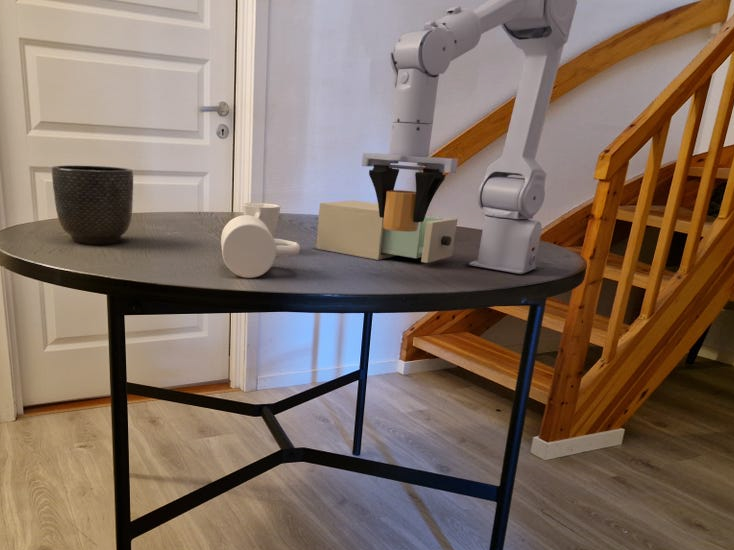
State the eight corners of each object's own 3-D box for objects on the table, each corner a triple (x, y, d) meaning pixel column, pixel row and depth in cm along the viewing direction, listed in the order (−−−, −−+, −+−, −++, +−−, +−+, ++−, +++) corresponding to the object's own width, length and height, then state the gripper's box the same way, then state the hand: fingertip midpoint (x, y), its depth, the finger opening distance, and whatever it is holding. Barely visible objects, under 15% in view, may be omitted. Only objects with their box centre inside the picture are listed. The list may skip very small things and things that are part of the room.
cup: (279, 247, 118) (282, 204, 115) (273, 256, 108) (276, 210, 105) (243, 244, 118) (245, 201, 115) (234, 253, 109) (236, 207, 106)
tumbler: (423, 229, 95) (428, 192, 93) (407, 232, 91) (412, 194, 89) (393, 225, 98) (397, 189, 96) (376, 228, 94) (380, 190, 92)
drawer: (458, 257, 113) (464, 219, 110) (433, 264, 105) (439, 223, 103) (391, 246, 120) (395, 210, 118) (364, 251, 113) (368, 214, 110)
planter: (143, 237, 120) (142, 168, 115) (121, 250, 107) (118, 172, 102) (74, 233, 121) (70, 164, 116) (43, 244, 107) (37, 167, 103)
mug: (221, 277, 91) (222, 222, 88) (220, 263, 100) (221, 213, 97) (301, 280, 92) (305, 225, 89) (293, 266, 101) (296, 217, 98)
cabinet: (407, 253, 119) (413, 207, 116) (378, 260, 111) (383, 211, 108) (348, 243, 127) (352, 200, 124) (316, 248, 118) (319, 203, 116)
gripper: (354, 121, 90) (346, 215, 95) (448, 124, 82) (434, 227, 86) (378, 123, 95) (369, 212, 100) (468, 126, 87) (454, 223, 92)
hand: (400, 219), depth 94 cm, fingers closed on tumbler, 5 cm apart
